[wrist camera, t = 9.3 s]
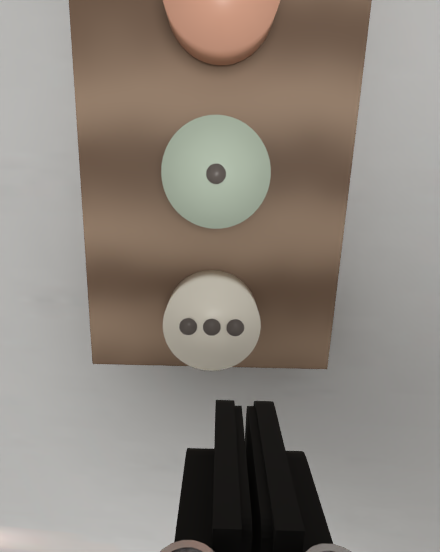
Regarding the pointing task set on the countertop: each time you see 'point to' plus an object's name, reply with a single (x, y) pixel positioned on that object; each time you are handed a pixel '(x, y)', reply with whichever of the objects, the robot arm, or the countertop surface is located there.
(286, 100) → the button board
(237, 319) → the cream button
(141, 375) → the countertop surface
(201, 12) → the terracotta button
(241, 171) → the sage button
